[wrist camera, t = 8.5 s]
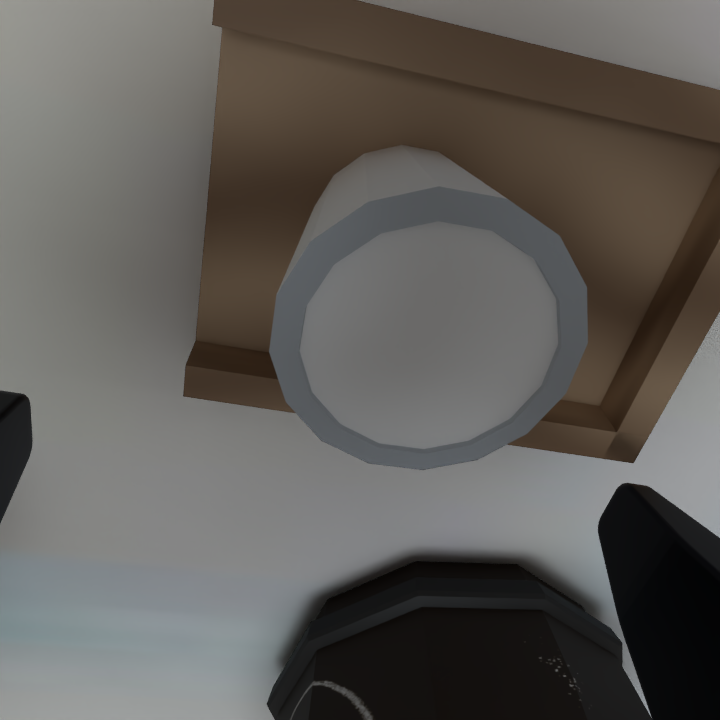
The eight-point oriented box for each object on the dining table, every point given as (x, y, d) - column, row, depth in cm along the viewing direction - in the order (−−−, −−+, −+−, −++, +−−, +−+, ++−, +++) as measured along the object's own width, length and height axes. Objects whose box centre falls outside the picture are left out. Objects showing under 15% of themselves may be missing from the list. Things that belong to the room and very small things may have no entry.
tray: (603, 417, 24) (633, 463, 22) (199, 353, 22) (183, 396, 20) (764, 102, 18) (829, 117, 16) (234, -30, 16) (216, -35, 14)
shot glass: (550, 175, 18) (660, 263, 12) (449, 360, 21) (494, 503, 15) (335, 82, 17) (336, 129, 10) (260, 296, 20) (228, 427, 14)
